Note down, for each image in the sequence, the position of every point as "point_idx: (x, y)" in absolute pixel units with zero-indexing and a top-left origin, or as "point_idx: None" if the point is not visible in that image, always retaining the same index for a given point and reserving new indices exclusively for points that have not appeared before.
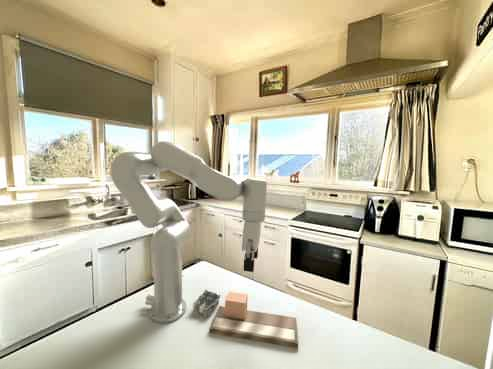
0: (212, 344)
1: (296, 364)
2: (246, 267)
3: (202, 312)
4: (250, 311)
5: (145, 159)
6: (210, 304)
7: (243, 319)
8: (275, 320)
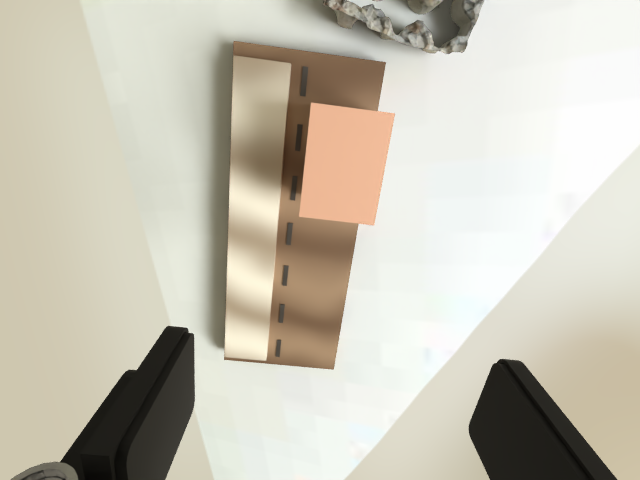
0: (184, 73)
1: None
2: (116, 389)
3: None
4: None
5: None
6: (412, 5)
7: None
8: (313, 306)
